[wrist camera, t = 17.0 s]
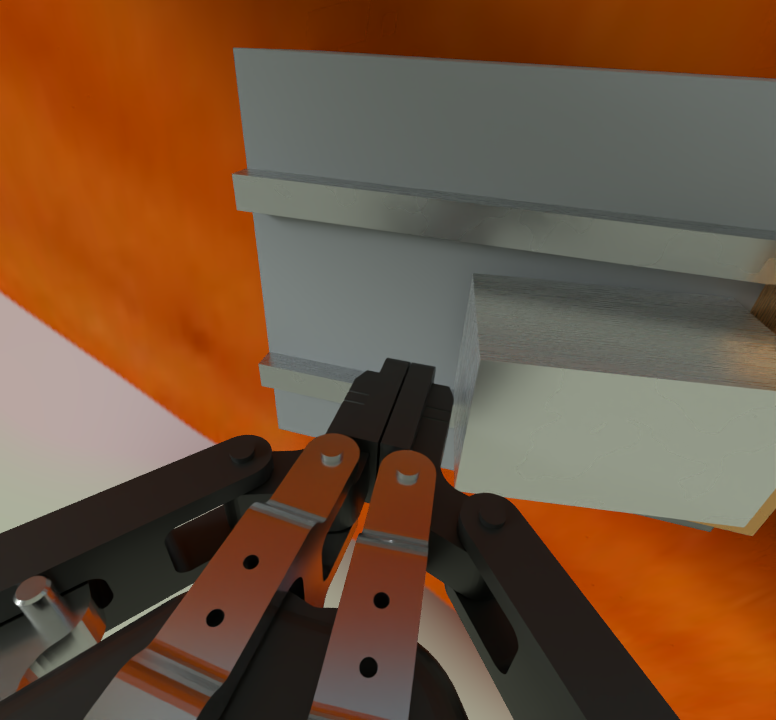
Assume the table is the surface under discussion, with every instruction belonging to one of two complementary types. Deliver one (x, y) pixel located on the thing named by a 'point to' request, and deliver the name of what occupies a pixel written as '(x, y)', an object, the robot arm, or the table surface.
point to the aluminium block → (615, 399)
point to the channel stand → (486, 202)
